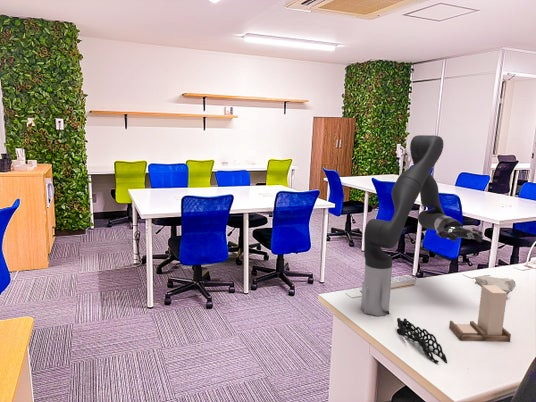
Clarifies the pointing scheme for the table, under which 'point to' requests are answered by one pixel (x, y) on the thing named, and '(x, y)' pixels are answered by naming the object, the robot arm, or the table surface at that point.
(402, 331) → the decorative element
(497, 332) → the beige wooden block
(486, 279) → the rock
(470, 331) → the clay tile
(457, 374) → the table surface
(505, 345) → the table surface
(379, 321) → the table surface
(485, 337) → the wooden open-ended tray
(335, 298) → the table surface
